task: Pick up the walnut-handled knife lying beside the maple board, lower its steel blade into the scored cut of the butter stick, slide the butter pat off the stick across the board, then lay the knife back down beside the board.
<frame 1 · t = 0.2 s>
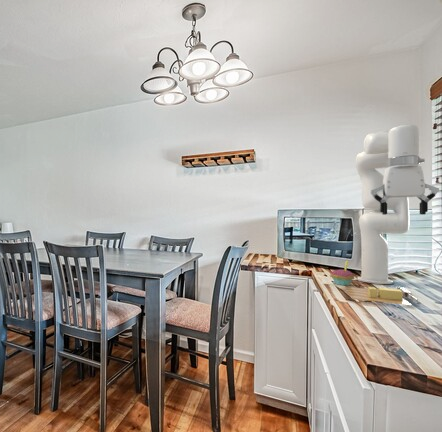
hand: (403, 214, 106), 31 cm above the table, tool pointing down, fingers open, 9 cm apart
knife: (408, 299, 115), on the table
butter: (390, 297, 113), resting on board
board: (374, 297, 118), on the table
butter pat: (372, 296, 116), point 1 cm above the table, touching board
birthday cake: (342, 286, 137), on the table
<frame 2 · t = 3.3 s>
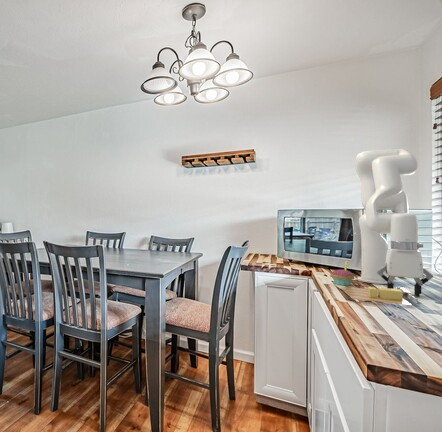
hand: (403, 294, 118), 1 cm above the table, tool pointing down, fingers open, 6 cm apart
nothing on the table moved.
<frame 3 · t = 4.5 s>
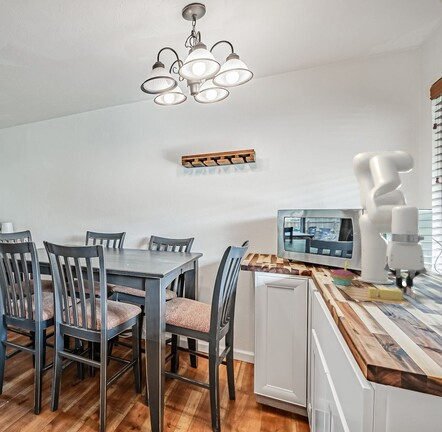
hand: (404, 287, 118), 3 cm above the table, tool pointing down, fingers closed on knife, 1 cm apart
knife: (406, 293, 116), point 2 cm above the table, touching gripper
everything else where it was.
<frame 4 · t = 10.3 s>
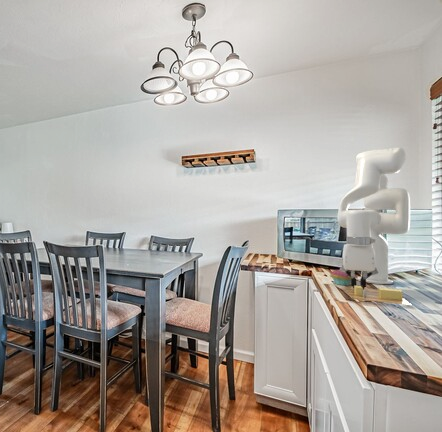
hand: (358, 288, 125), 2 cm above the table, tool pointing down, fingers closed on knife, 1 cm apart
knife: (359, 292, 122), point 1 cm above the table, touching board, butter pat, gripper
butter pat: (358, 294, 118), point 1 cm above the table, touching board, knife
everything else where it was.
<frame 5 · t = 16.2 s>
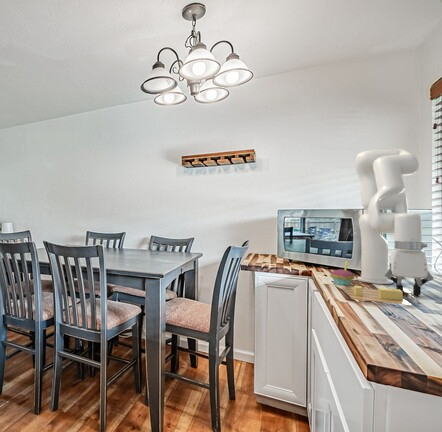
hand: (408, 295, 117), 1 cm above the table, tool pointing down, fingers open, 3 cm apart
knife: (408, 299, 115), on the table
butter pat: (358, 294, 118), point 1 cm above the table, touching board
everything else where it was.
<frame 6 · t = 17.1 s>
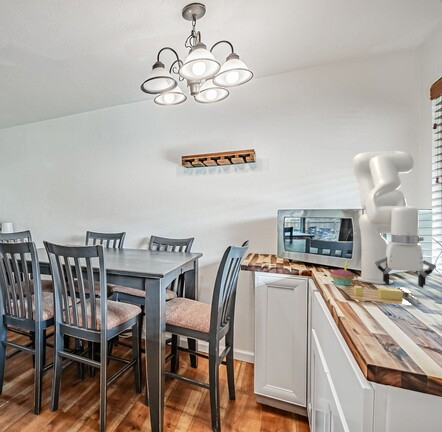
hand: (403, 285, 119), 4 cm above the table, tool pointing down, fingers open, 9 cm apart
nothing on the table moved.
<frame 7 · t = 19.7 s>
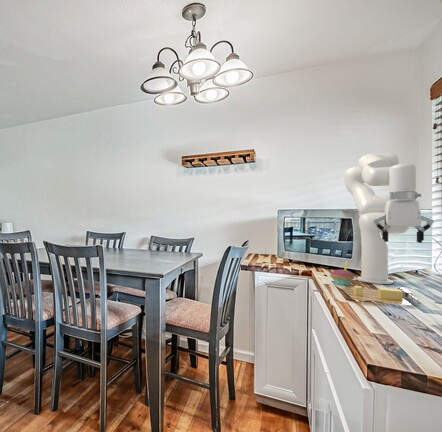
hand: (402, 242, 121), 20 cm above the table, tool pointing down, fingers open, 9 cm apart
nothing on the table moved.
at the end: butter pat 0.3 cm from the target spot, point 1.0 cm above the table; butter pat touching board; the gripper is holding nothing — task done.
